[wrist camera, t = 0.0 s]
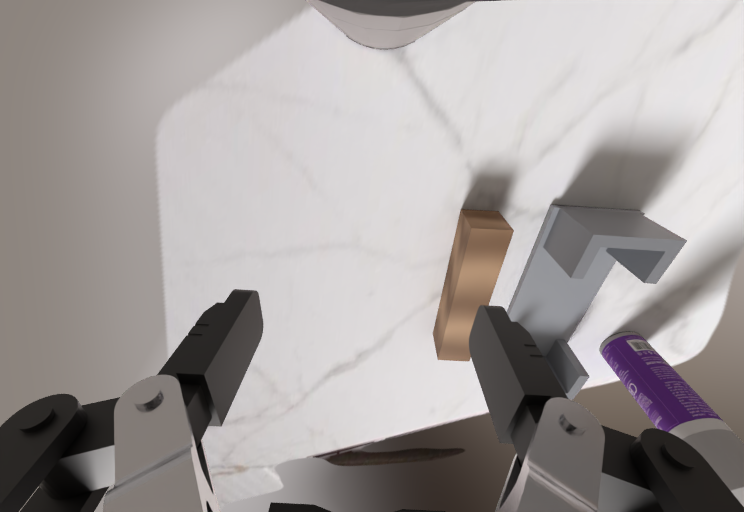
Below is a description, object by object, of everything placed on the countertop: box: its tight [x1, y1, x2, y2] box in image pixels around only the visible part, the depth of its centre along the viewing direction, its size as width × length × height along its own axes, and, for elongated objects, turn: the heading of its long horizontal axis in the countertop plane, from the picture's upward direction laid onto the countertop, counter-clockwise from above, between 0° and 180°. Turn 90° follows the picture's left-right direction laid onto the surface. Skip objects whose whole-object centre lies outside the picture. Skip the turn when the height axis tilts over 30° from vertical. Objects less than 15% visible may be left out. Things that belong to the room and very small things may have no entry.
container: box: [600, 332, 744, 507], centre depth 30 cm, size 5×5×15 cm
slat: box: [433, 209, 514, 361], centre depth 30 cm, size 16×3×4 cm, turn 177°
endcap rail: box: [507, 205, 687, 399], centre depth 30 cm, size 20×8×6 cm, turn 176°
